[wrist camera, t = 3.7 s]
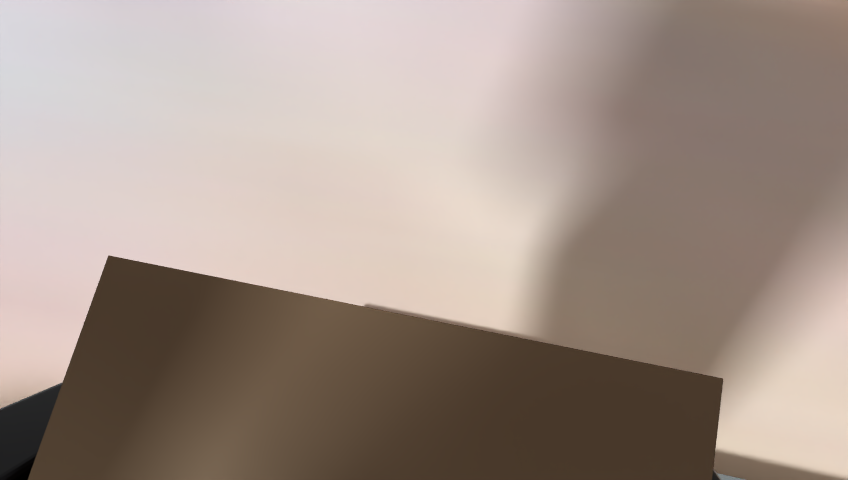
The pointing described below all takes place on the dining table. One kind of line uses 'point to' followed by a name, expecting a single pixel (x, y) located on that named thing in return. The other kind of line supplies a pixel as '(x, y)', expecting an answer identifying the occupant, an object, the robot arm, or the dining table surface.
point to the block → (350, 395)
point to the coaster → (728, 477)
